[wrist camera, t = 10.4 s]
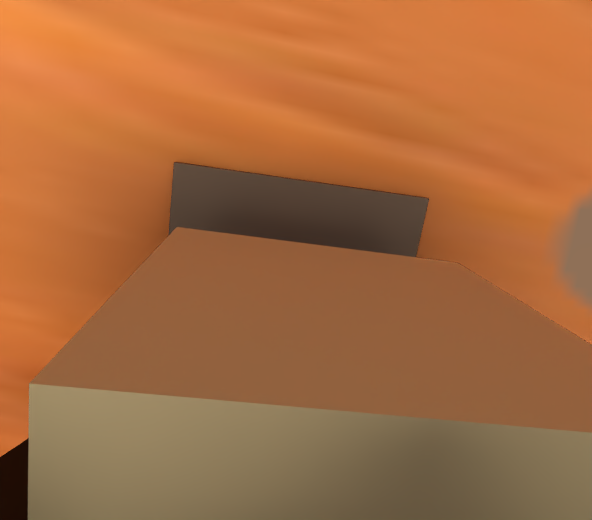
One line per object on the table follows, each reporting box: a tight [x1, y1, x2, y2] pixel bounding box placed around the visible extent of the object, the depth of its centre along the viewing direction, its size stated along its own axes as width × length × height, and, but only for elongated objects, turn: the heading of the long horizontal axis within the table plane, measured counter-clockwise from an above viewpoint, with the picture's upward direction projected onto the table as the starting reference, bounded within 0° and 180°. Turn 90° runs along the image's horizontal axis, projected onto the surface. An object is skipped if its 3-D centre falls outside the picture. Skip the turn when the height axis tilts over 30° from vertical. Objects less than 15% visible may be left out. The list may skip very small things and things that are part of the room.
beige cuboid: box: [28, 227, 592, 520], centre depth 7 cm, size 7×6×6 cm
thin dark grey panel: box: [169, 162, 429, 257], centre depth 16 cm, size 8×8×1 cm
